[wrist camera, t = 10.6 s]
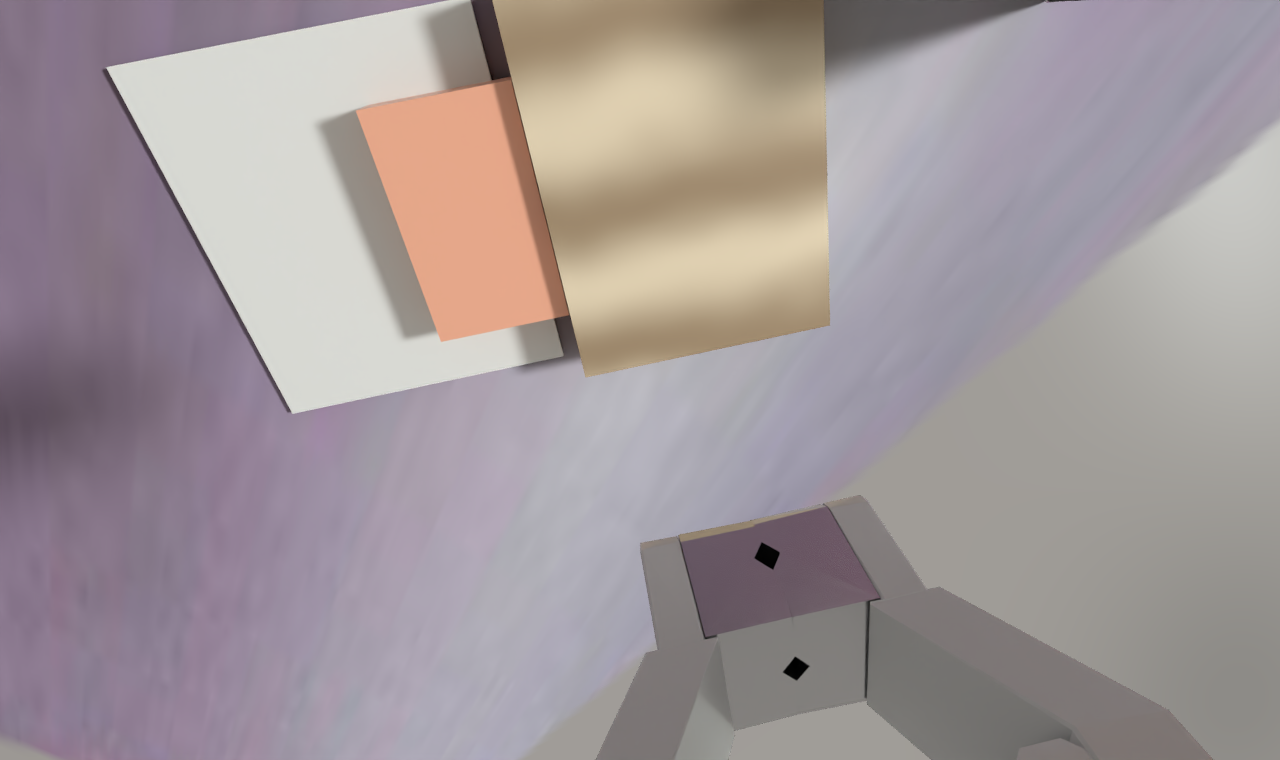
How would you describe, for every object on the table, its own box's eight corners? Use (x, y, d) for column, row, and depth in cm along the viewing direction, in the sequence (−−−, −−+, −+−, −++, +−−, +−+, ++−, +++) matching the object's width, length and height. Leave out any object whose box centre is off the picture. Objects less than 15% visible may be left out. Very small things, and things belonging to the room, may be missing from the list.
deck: (495, -8, 25) (488, -13, 22) (793, -67, 25) (822, -78, 22) (582, 349, 33) (585, 377, 30) (807, 301, 33) (829, 325, 30)
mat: (110, 66, 24) (106, 67, 24) (470, -4, 25) (469, -4, 24) (294, 410, 32) (292, 413, 32) (563, 353, 33) (563, 356, 32)
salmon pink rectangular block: (368, 104, 26) (355, 110, 24) (513, 76, 26) (510, 79, 24) (446, 324, 31) (440, 341, 29) (567, 298, 31) (569, 315, 29)
